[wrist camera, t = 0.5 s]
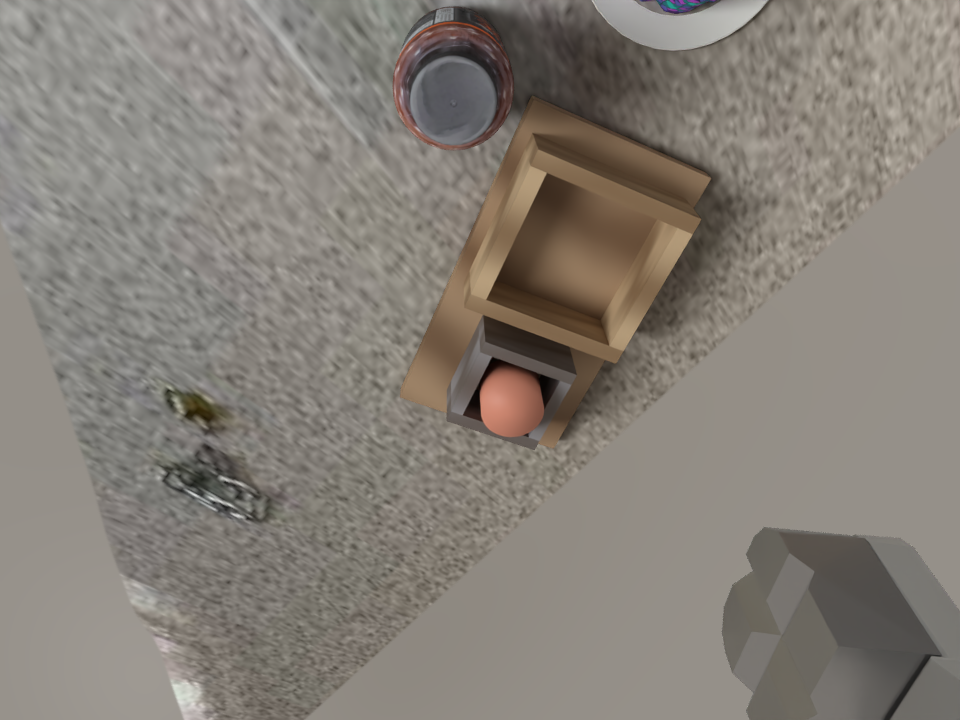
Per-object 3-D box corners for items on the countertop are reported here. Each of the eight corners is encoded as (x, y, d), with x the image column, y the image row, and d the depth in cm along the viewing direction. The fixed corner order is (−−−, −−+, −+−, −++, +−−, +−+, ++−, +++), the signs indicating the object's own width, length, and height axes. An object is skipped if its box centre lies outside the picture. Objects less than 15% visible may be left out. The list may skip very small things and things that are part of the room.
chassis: (531, 95, 47) (540, 115, 42) (705, 172, 49) (730, 199, 45) (400, 388, 57) (396, 428, 52) (551, 438, 59) (559, 481, 55)
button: (493, 349, 52) (496, 376, 49) (549, 369, 52) (554, 396, 50) (469, 397, 53) (471, 425, 51) (523, 415, 54) (527, 444, 51)
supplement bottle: (524, 73, 46) (545, 121, 36) (441, 133, 48) (440, 194, 38) (465, -20, 43) (470, 4, 34) (379, 46, 45) (360, 87, 35)
